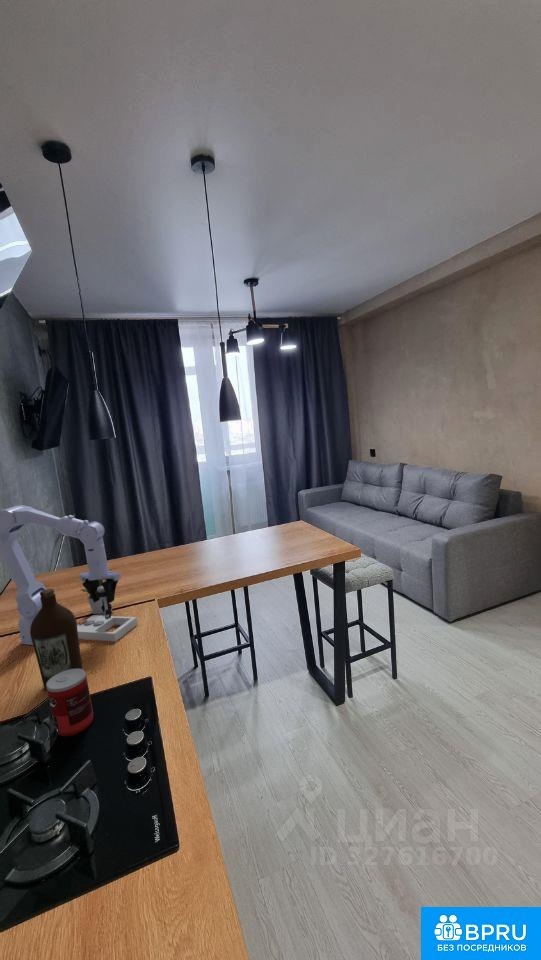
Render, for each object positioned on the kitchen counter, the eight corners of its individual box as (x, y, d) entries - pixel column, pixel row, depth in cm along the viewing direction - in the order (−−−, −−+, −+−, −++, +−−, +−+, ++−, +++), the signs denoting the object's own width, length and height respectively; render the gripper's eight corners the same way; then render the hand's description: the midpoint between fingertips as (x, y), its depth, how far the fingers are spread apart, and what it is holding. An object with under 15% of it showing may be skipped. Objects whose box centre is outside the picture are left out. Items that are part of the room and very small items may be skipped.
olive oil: (48, 675, 114) (31, 587, 111) (89, 666, 116) (73, 580, 113) (35, 699, 104) (16, 603, 101) (81, 688, 106) (63, 594, 103)
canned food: (63, 715, 96) (54, 671, 95) (99, 710, 97) (90, 665, 95) (48, 740, 88) (38, 692, 87) (87, 733, 89) (78, 685, 88)
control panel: (69, 638, 135) (68, 629, 135) (94, 622, 145) (92, 613, 145) (115, 641, 129) (114, 632, 129) (137, 624, 139) (136, 615, 139)
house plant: (132, 605, 156) (124, 563, 154) (99, 622, 145) (91, 576, 143) (107, 600, 164) (100, 560, 162) (75, 616, 152) (67, 573, 150)
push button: (116, 619, 134) (111, 589, 132) (98, 623, 132) (93, 593, 131) (116, 611, 140) (111, 582, 139) (99, 615, 138) (94, 586, 137)
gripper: (69, 564, 132) (76, 605, 134) (106, 564, 127) (114, 607, 129) (85, 557, 139) (92, 596, 140) (121, 557, 134) (128, 597, 136)
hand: (103, 601), depth 135 cm, fingers closed on push button, 5 cm apart
